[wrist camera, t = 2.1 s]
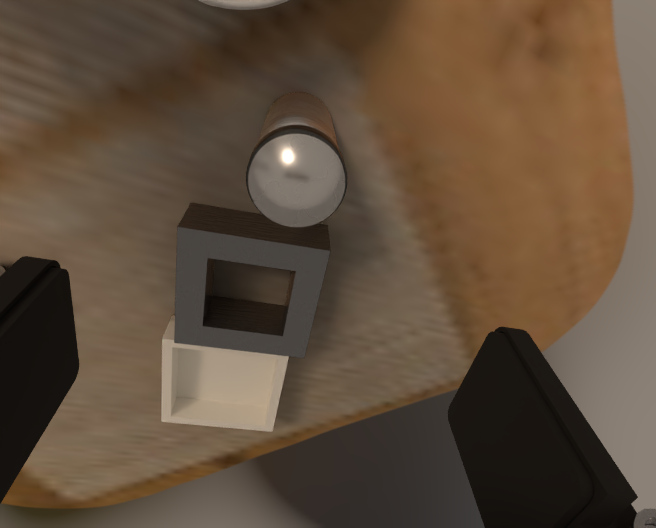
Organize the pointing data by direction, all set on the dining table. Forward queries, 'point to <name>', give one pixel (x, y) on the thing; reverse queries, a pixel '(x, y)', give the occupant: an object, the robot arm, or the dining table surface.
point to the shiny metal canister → (297, 163)
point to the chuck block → (256, 249)
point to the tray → (219, 385)
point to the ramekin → (243, 3)
